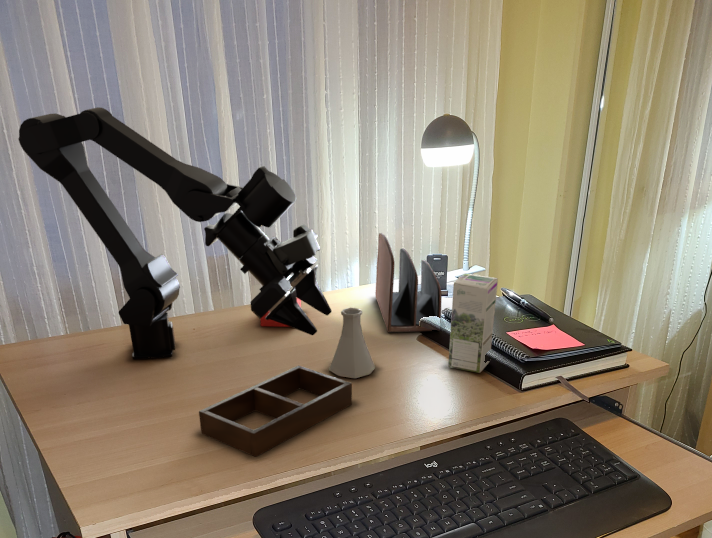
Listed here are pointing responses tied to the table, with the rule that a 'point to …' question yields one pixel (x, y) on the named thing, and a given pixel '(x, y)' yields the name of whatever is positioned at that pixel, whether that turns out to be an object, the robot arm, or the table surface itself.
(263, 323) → the red slab
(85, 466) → the table surface
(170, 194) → the robot arm
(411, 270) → the letter holder
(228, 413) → the walnut divided tray
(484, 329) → the syrup box
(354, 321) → the flask
